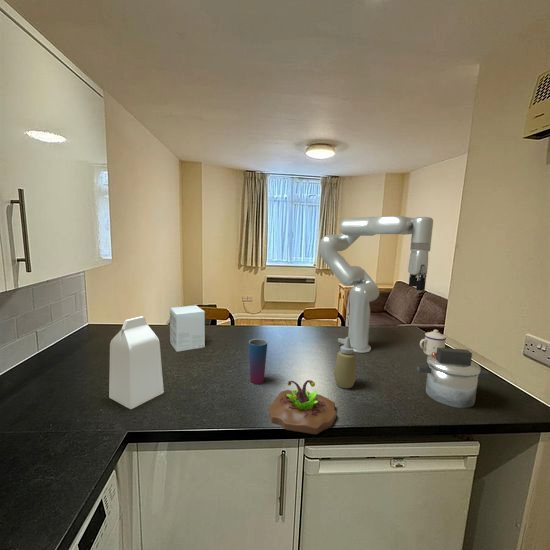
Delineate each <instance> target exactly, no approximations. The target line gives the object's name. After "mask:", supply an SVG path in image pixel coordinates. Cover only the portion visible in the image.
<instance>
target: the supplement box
mask: <svg viewBox="0 0 550 550" xmlns="http://www.w3.org/2000/svg"><path fill="white" fill-rule="evenodd" d="M205 314H206V312H205V310H203V309H202V308H201V307H199V306H198V305H196V304H195V305H187V306H186V305H185V306H175V307H174V306H173V307H170V308H169V337H170V338H169V343H170V345H171V346H172V348H173V349H174V350H175V351H176V353H177V352H182V351H189V350H194V349H201V348H205V347H206V345H205V344H206V342H205V341H206V334H205V330H206V328H205V327H206V326H205V325H206V324H205V323H206V322H205V321H206V319H205V316H206V315H205Z"/></svg>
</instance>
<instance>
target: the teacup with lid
mask: <svg viewBox="0 0 550 550" xmlns="http://www.w3.org/2000/svg"><path fill="white" fill-rule="evenodd" d="M446 340H447V336H446V335H445V334H442V333H441V332H439V329H433V331H432V330H431V331H430V332H429V331H427V332H425V333H424V338H422V339H421V340H420V341H419V347H420V348H421V349H422V350H423V353H424V354H425V355H426V356H429V355H431V354H432V352H435V353H437V348H446V347H445V346H446ZM423 343H424V344H423Z"/></svg>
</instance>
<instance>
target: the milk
mask: <svg viewBox="0 0 550 550" xmlns="http://www.w3.org/2000/svg"><path fill="white" fill-rule="evenodd" d="M160 344H161V343H160V340H159V337H158V336H157V335H156V334H155V331H154V330H152V327H150V326H149V324H148V322H147V320H146V317H145V316H142V315H141V316H136V317H133V318H129V319H125V320H124V321H123V325H122V327H121V329H120V330H119V331H118V333H116V334H115V336H113V338H112V339H111V340H110V343H109V378H108V379H109V382H108V383H109V384H108V385H109V389H108V392H109V394H108V398H109V399H111V400H113V401H114V402H116V403H118V404H120V405H122V406H123V407H125V408H127V409H129V410H132V409H134V408H137V407H138V406H140V405H143V404H144V403H146V402H148V401H150V400H152V399H155V398H157V397H158V396H160V395H162V394H164V393H165V392H164V390H165V389H164V379H163V369H162V355H161V345H160Z"/></svg>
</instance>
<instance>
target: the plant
mask: <svg viewBox="0 0 550 550" xmlns="http://www.w3.org/2000/svg"><path fill="white" fill-rule="evenodd" d="M292 383H293V384H294V385H295V386H296V390H290V389H287V390H283V391H281V392H279V394H278V396H277V397H276V398H274V400H273V402H272V403H271V404H270V405H268V406H269V407H268V418H269V419H270V422H271V424H276V425H279V426H280V427H281V428H283V429H284V430H286V431H290V432H297V433H305V434H310V435H318V434H320V433H322V432H323V431H326V430H328V429H330V428H331V427H332V426H333V424H334V422H335V420H336V419H337V411H336V410H335V409H336V402H335V401H332V400H331V399H329V398H327V397H326V396H323V395H321V394H318V392H317V391H311V392H310V391H307V385H308V383H309V385H310V386H311V388H312V387H313V388H314V387H315V386H316V383H315V381H313V380H311V379H307V380H306V381H305V382H304V383H303V385H302V387H300V385H299V384H298V382H296V381H294V380H289V381H287V386H291V385H292Z"/></svg>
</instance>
